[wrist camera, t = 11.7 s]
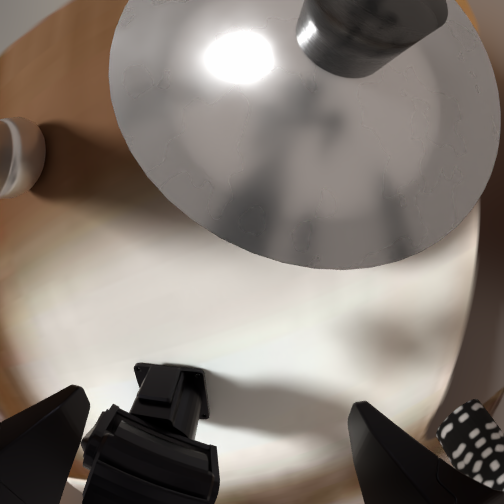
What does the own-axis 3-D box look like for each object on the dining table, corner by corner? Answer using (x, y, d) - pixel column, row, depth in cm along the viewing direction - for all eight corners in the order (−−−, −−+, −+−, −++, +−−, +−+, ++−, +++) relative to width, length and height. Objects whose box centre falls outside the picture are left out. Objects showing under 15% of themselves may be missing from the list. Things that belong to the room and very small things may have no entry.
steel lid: (482, 258, 12) (553, 296, 6) (123, 261, 12) (46, 323, 6) (450, -22, 7) (495, -54, 1) (148, -58, 7) (118, -112, 1)
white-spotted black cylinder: (479, 413, 27) (530, 492, 7) (438, 444, 28) (480, 530, 9) (479, 390, 25) (544, 480, 6) (433, 425, 26) (486, 528, 7)
